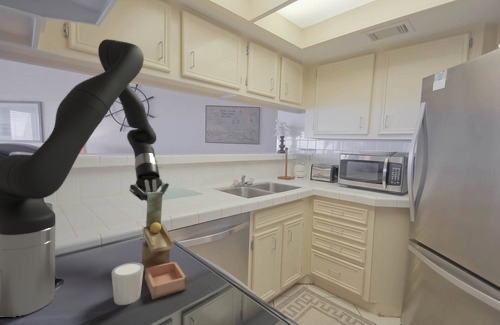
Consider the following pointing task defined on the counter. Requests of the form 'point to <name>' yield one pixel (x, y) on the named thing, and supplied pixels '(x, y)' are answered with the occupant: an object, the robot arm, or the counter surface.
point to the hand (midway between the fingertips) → (153, 209)
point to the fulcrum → (154, 257)
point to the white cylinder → (127, 283)
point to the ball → (155, 227)
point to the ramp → (154, 209)
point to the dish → (165, 279)
